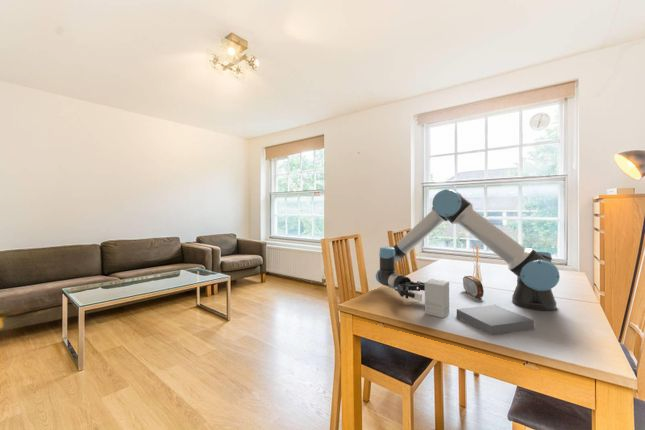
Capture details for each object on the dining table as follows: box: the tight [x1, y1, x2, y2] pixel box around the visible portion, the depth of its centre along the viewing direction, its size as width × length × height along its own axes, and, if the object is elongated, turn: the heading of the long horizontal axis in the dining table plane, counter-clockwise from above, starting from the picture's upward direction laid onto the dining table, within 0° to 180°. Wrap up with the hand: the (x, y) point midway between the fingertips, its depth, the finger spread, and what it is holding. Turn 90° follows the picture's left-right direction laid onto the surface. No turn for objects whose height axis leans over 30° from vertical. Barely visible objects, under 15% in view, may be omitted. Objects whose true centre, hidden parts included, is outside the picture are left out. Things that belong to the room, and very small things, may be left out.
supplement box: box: [424, 278, 450, 319], centre depth 111 cm, size 7×7×13 cm
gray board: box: [456, 304, 535, 336], centre depth 102 cm, size 18×16×3 cm
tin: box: [462, 275, 485, 299], centre depth 134 cm, size 15×3×8 cm, turn 178°
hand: (434, 295), depth 112 cm, fingers open, 13 cm apart
